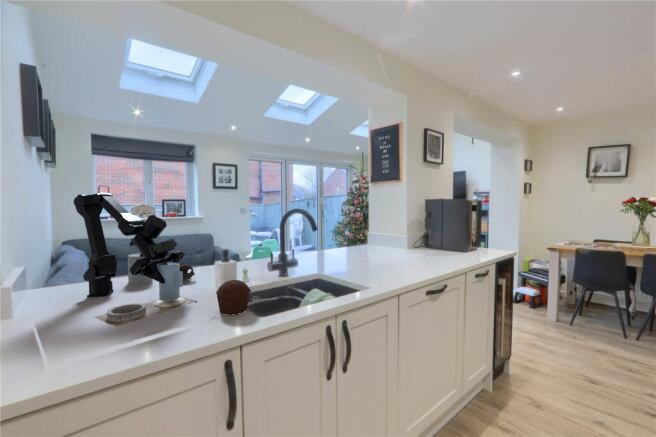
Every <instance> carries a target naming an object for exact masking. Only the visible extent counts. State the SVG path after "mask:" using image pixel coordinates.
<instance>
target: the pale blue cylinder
mask: <svg viewBox="0 0 656 437" xmlns="http://www.w3.org/2000/svg"><path fill="white" fill-rule="evenodd" d="M179 266H180V262H179V263H163V264H160V265H158V270H159V272H160V273H161V275H162V276H163V278H164V280H165V283H164V284H162V283H160V282H158V292H159V293H158V294H159V295H158V296H159V297H158V299H159V300H161V301H171V300H176V299H178V298H179V297H180V296H181V292H180V291H181V290H180V288H181V287H184V281H183V272H181V271H179Z"/></svg>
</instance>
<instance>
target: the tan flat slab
mask: <svg viewBox="0 0 656 437" xmlns="http://www.w3.org/2000/svg"><path fill="white" fill-rule="evenodd" d="M192 303H196V304H197V303H198V301H197V300H196V299H195V300H194V299H191V298H187V297H183V296H181V295H180V297H179V298H178V299H176V300H171V301H161V300H159V298H158V299H156V300H152V301H148V302H144V303H140V302H139V303H138V302H137V303H135V302H133V303H126V304H121V305H116V306H114V307H111V308H110V309H108V310H107V311H106V313H104V314H102V315H99V316H95V317H94V318H96V319H98V320H101V321H103V322H105V323H107V324H110V325H112V326H114V327H120V326H123V325H125V324H128V323H131V322H135V321H138V320H142V319H144V318H147V317H151V316H155V315H158V314H160V313H164V312H167V311H170V310H172V309H173V310H174V309H176V308H179V307H184V306H186V305H189V304H192Z"/></svg>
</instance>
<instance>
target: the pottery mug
mask: <svg viewBox="0 0 656 437" xmlns="http://www.w3.org/2000/svg"><path fill="white" fill-rule="evenodd" d="M189 270H190V271H189ZM179 271H181V272H183V282H184V281H187V280H190V279H191V278H193V276H196V273H195V272H194V271H195V269H194V268H193V266H191V265H188V264H181V265H180V264H179Z"/></svg>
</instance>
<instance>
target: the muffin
mask: <svg viewBox="0 0 656 437" xmlns="http://www.w3.org/2000/svg"><path fill="white" fill-rule="evenodd" d="M251 291H252V290H251V289H250V287H249V286H248V285H247V283H245V281H243V280H238V279H230V280H226V281H225V282H223V283H222V284H221V285H220V286H219V287H218V288H217V290H216V292H215V294H216V298H217V303H218V304H217V305H218V309H219V312H220V313H221V314H222V313H223V314H229V315H228V316H233V315H232V314H235V315H239V314H238V313H241V314H243V313H245V312H244V311H246V312H247V310H248V305H249V299H250V293H251ZM242 312H243V313H242ZM223 314H222V315H223Z"/></svg>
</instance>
